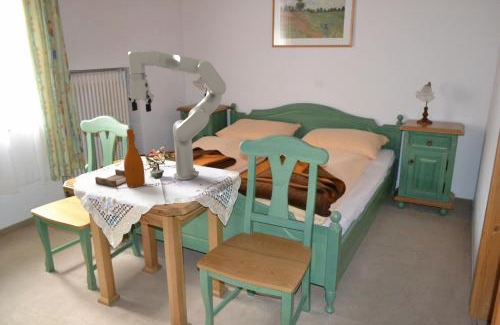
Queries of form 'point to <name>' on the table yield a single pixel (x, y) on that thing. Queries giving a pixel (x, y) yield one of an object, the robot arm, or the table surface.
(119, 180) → the u rest
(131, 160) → the wine bottle
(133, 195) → the table surface
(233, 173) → the table surface
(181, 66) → the robot arm
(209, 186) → the table surface
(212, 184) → the table surface
